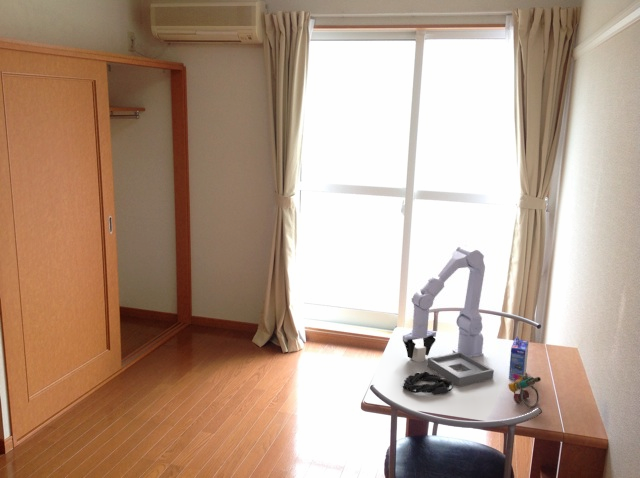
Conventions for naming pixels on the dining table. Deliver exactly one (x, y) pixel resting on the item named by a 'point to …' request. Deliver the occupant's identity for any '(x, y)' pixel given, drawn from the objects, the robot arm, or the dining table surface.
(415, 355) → the white rectangular block
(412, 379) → the cable
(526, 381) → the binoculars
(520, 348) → the ink cartridge box
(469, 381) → the walled box
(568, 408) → the dining table surface
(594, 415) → the dining table surface
